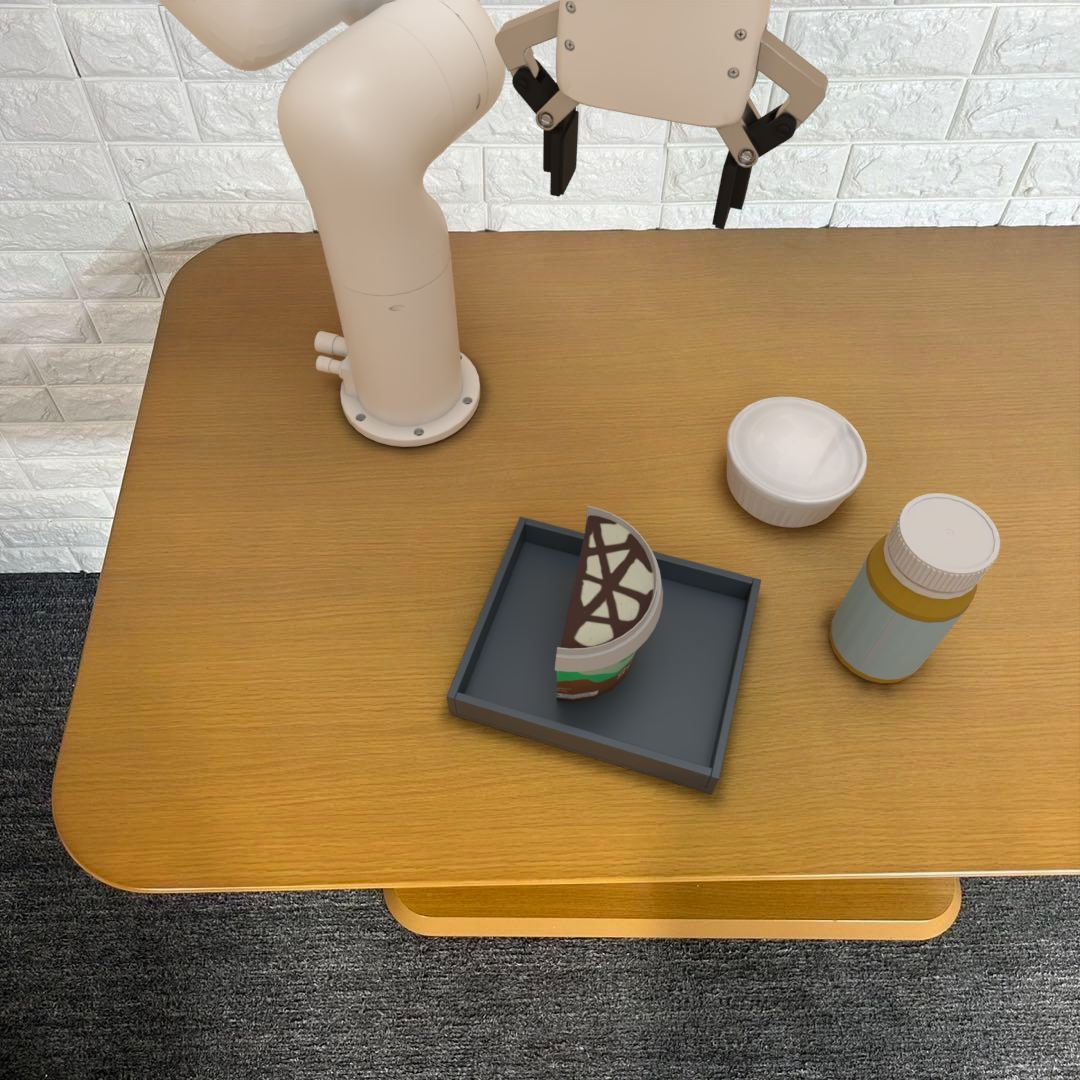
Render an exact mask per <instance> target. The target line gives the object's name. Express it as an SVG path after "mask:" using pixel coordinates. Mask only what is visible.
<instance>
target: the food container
mask: <svg viewBox="0 0 1080 1080" xmlns="http://www.w3.org/2000/svg"><path fill="white" fill-rule="evenodd" d="M584 533H585V535H584V539H583V544H582V548H581V553H580V558H579V563H578V567H577V571H576V576H575V581H574V586H573V590H572V596H571V600H570V605H569V609H568V614H567V618H566V623H565V628H564V632H563V637H562V642H561V648H560V647H557V654H556V662H555V670H556V671H557V682H556V701H565V702H578V701H584V700H591V699H595V698H597V697H599V696H601V695H603V694H605V693H607V692H609V691H611V690H612V689H613V688H614V687H615V686H616V685H618V684H619V683H620V682H621V681H622V680H623V679H624V678H625V676H626V674H627V672H628V670H629V668H630V667H631V665H632V662H633V659H634V657H635V654H636V651H637V649H638V648H639V647H640V646H641V645H642V644H643V643H644V642H645V641H646V640H647V639H648V637H649V636H650V634H651V633H652V632H653V630H654V629H655V626H656V624H657V622H658V620H659V617H660V613H661V609H662V605H663V588H662V581H661V575H660V570H659V567H658V564H657V560H656V558H655V556H654V554H653V552H652V551H653V550H652V548H651V547H650V545H649V544H648V542H647V541H646V540H645V539H644V537H643V535H642V534H641V533H640V532H639V531H638V530H637V529H636V528H635V527H634V526H633V525H631V523H629V522H627V521H626V520H625V519H623V518H621V517H619V515H616V514H614V513H613V512H610V511H607V510H604V509H602V508H599V507H595V506H591V505H587V507H586V516H585V527H584Z"/></svg>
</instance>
